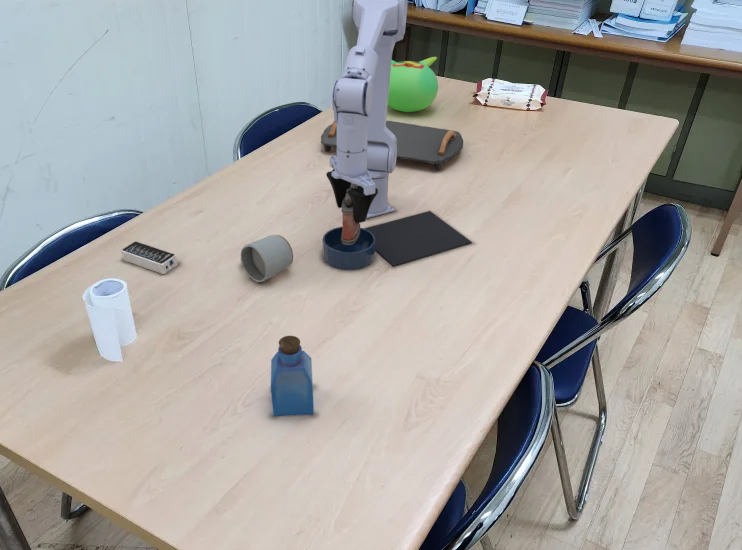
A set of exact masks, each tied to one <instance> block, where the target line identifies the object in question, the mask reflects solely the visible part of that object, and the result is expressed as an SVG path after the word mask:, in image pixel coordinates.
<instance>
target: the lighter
mask: <svg viewBox="0 0 742 550" xmlns="http://www.w3.org/2000/svg"><path fill="white" fill-rule="evenodd" d="M356 188H357V185H356V184H353V183H352V184H351V186H350V189H347V192H346V197H345V198H344V200H343V202H342V208H341V213H342V225H341V227H342V237H341V242H342V243H343V244H345V245H352V244H354V243H355V241H356V240H357V239H358V237H359V234H360V228H361V223H355V221H354V215H353V206H352V201H351V198H350V196H349V194H348V190H352V189H356Z"/></svg>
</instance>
